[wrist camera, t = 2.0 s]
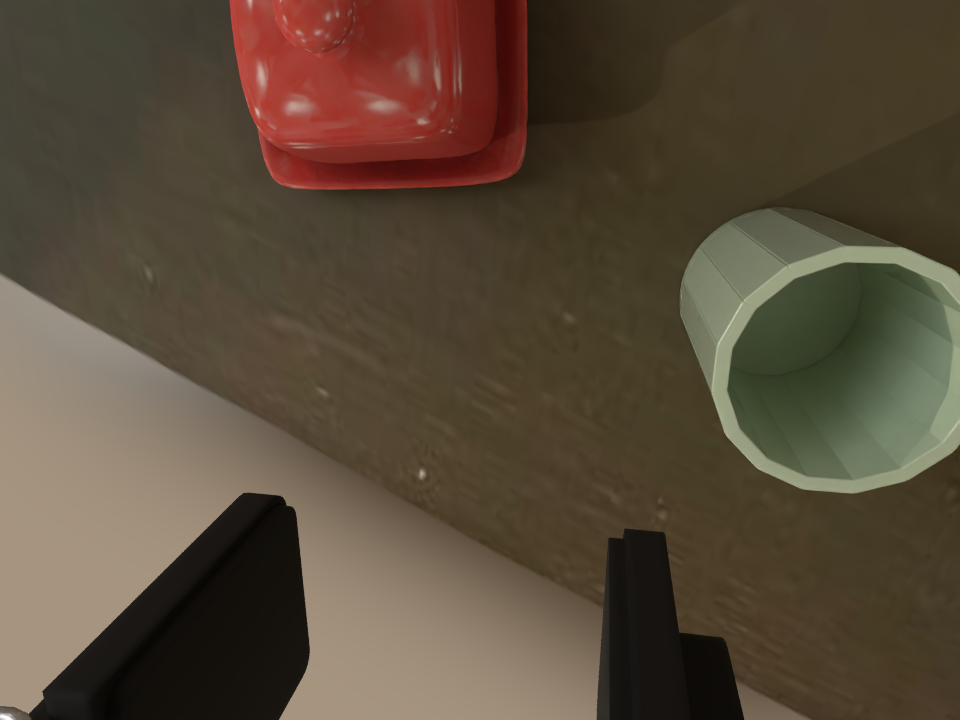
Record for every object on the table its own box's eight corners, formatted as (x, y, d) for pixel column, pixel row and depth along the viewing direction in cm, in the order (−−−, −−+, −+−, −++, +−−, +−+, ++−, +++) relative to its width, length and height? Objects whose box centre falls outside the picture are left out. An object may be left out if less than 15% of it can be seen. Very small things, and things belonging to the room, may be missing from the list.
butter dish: (241, -107, 27) (88, -206, 19) (529, -139, 25) (492, -267, 17) (279, 189, 31) (163, 209, 23) (533, 182, 28) (504, 202, 21)
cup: (671, 372, 30) (700, 481, 21) (688, 205, 28) (728, 242, 18) (848, 382, 29) (963, 503, 19) (880, 208, 26) (1029, 250, 17)
